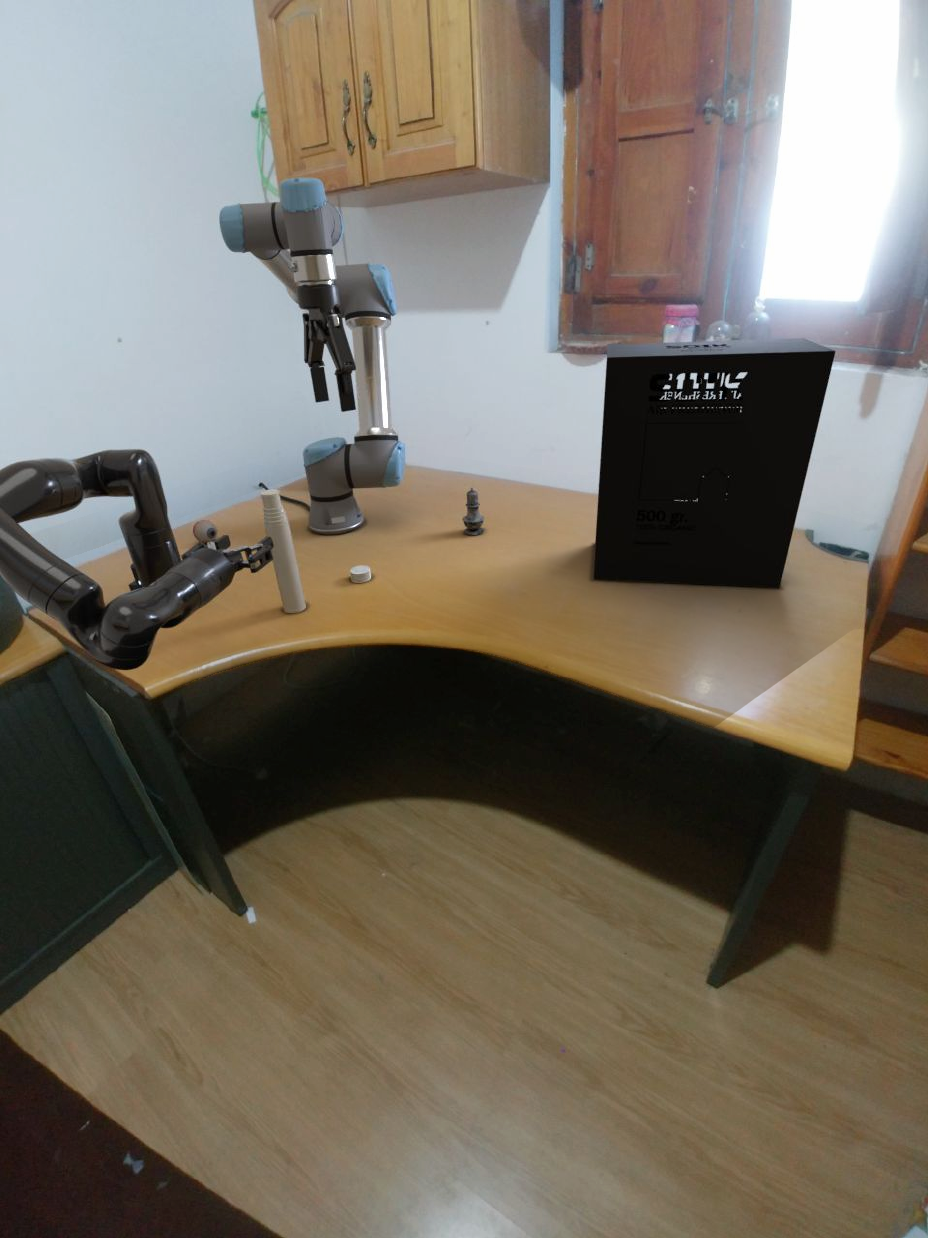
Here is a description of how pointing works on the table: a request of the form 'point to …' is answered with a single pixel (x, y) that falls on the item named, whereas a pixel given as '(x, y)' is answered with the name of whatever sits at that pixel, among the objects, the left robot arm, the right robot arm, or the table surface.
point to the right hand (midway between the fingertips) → (335, 405)
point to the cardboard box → (706, 459)
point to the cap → (360, 574)
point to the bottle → (283, 552)
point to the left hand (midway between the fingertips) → (249, 540)
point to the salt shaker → (473, 515)
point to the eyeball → (205, 531)
